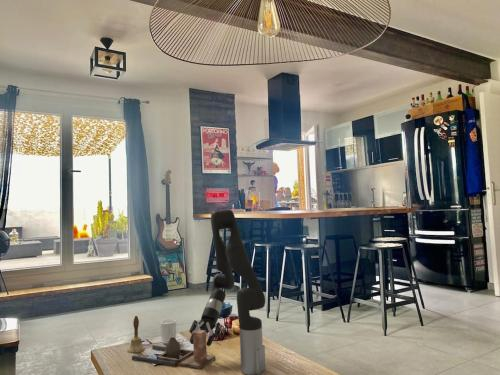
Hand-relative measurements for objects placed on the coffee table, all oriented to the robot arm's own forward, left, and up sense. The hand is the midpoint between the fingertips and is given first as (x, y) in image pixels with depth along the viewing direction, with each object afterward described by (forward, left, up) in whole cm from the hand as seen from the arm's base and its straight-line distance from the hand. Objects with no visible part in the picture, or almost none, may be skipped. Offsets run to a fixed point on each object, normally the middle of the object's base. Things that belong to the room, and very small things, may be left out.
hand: (199, 344), depth 165 cm
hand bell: (+39, -3, -8) cm, 40 cm away
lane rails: (+20, 0, -8) cm, 22 cm away
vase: (+15, -1, -8) cm, 17 cm away
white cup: (+31, -18, -8) cm, 37 cm away
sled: (+8, 0, -8) cm, 11 cm away
